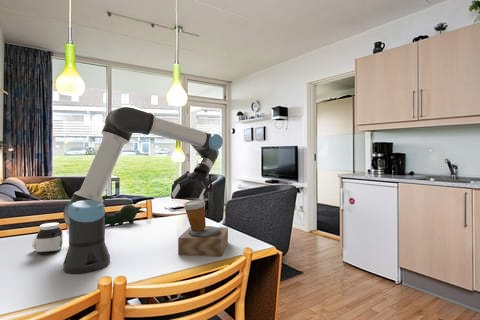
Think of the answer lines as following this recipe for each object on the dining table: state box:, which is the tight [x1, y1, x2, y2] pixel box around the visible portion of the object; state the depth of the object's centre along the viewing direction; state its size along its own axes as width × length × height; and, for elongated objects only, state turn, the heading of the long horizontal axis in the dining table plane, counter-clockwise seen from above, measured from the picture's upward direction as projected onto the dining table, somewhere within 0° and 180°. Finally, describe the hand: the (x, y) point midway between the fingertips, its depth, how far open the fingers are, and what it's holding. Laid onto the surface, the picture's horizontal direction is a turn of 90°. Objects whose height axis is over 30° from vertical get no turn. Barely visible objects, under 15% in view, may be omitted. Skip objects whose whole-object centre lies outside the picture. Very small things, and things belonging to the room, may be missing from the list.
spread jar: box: [31, 222, 64, 256], centre depth 116 cm, size 12×11×12 cm
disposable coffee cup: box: [183, 199, 207, 231], centre depth 120 cm, size 10×10×12 cm
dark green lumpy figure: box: [102, 194, 143, 227], centre depth 162 cm, size 9×19×25 cm
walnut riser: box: [177, 225, 229, 257], centre depth 120 cm, size 18×18×8 cm
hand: (186, 198), depth 126 cm, fingers open, 13 cm apart
